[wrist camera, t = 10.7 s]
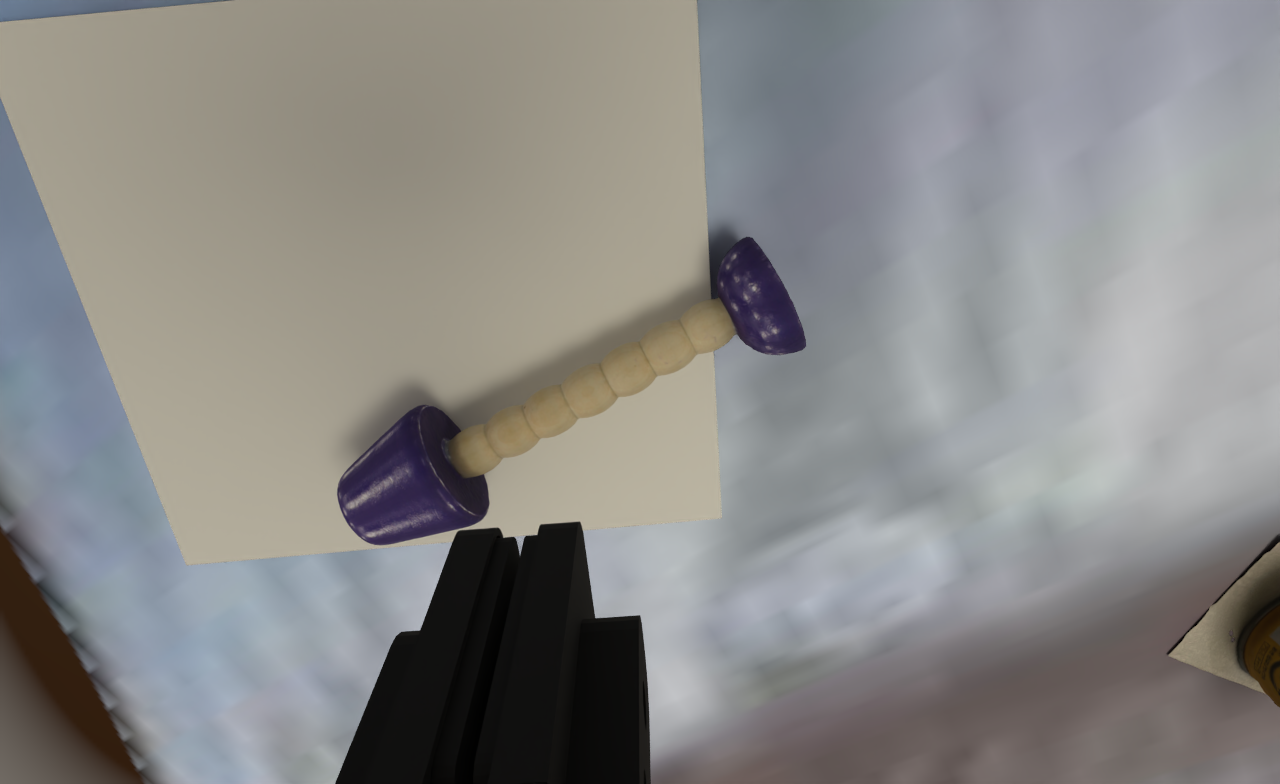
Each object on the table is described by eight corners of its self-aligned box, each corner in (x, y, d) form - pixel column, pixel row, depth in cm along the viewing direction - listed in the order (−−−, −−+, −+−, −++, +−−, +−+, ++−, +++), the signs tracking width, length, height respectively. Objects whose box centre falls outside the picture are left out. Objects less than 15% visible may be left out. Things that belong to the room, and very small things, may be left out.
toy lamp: (825, 381, 25) (383, 596, 26) (782, 330, 29) (403, 518, 30) (774, 253, 23) (296, 495, 24) (735, 218, 27) (330, 426, 28)
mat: (-14, 25, 23) (-29, 24, 23) (692, -40, 23) (694, -43, 23) (193, 556, 31) (186, 565, 31) (719, 510, 31) (721, 518, 31)
